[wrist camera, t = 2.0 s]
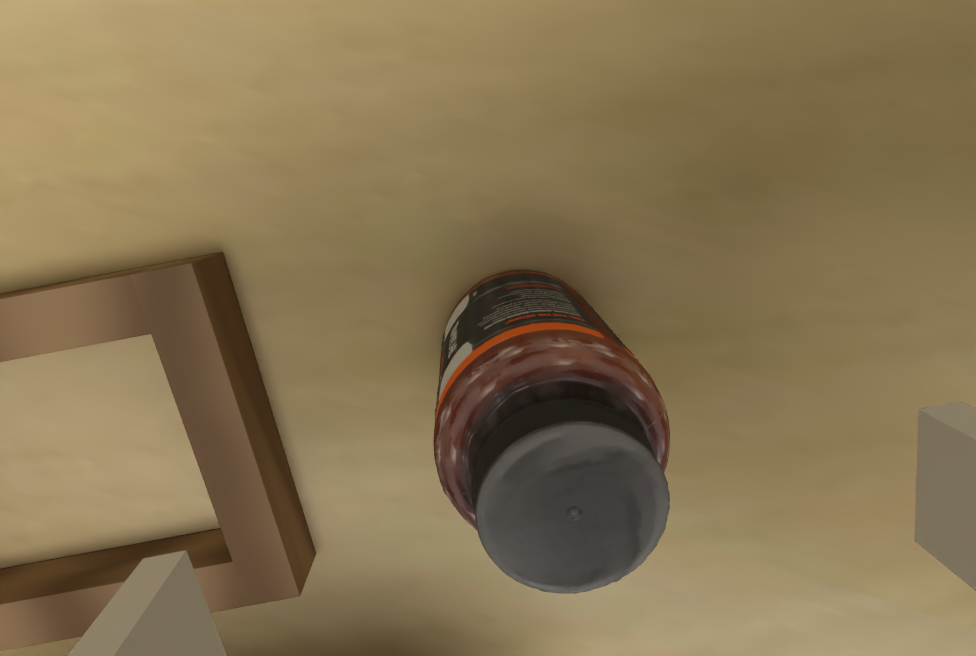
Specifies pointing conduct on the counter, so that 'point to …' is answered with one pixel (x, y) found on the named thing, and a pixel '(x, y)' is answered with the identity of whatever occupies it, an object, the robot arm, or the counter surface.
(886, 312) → the counter surface
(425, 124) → the counter surface
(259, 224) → the counter surface
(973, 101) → the counter surface
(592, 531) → the supplement bottle
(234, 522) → the wooden frame
